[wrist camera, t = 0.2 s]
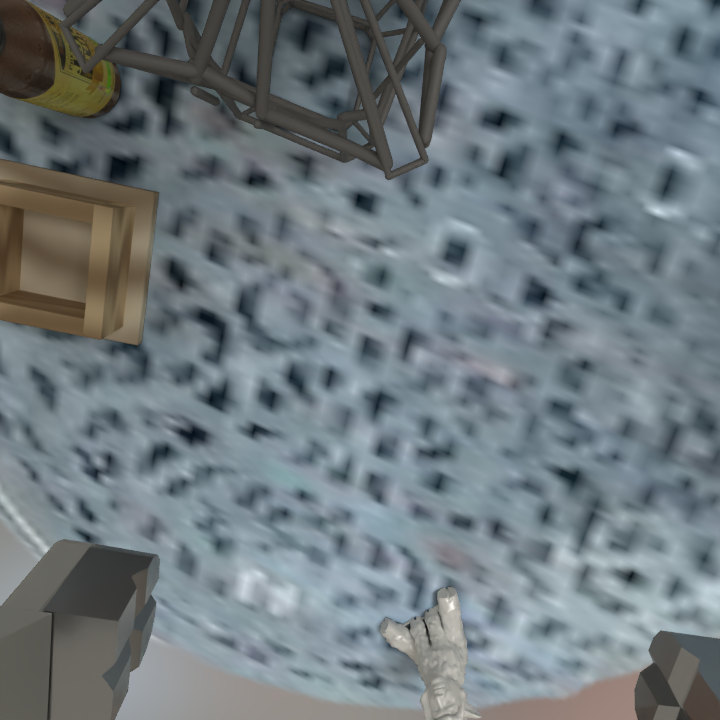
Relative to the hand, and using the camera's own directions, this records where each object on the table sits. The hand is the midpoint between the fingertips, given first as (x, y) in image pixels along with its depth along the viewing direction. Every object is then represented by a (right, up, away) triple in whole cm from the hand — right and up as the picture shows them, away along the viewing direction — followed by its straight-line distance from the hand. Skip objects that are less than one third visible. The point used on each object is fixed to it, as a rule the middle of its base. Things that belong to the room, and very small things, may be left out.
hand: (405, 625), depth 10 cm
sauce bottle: (-24, +28, +42) cm, 56 cm away
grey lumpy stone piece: (+7, -25, +57) cm, 63 cm away
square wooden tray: (-27, +14, +45) cm, 55 cm away
